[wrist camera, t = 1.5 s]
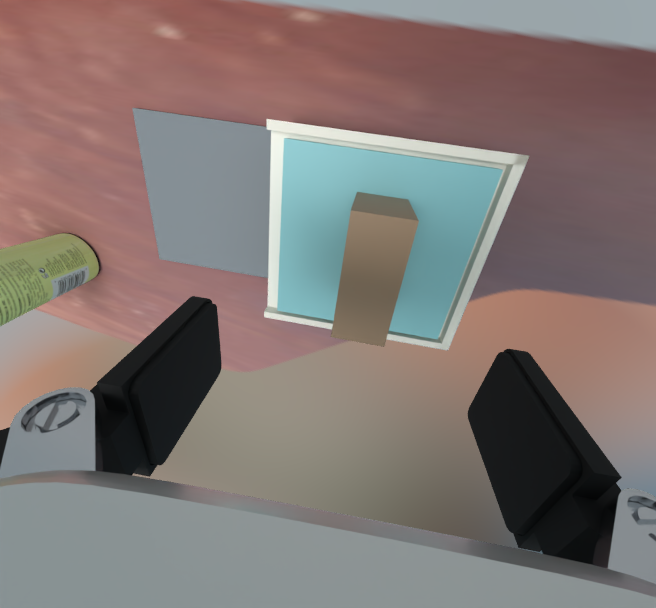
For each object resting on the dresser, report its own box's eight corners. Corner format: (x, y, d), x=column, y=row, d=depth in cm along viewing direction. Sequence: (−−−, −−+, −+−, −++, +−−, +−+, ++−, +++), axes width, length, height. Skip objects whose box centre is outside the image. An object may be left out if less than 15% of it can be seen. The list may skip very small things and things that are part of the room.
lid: (498, 168, 16) (550, 182, 11) (435, 333, 22) (452, 390, 17) (287, 138, 17) (251, 139, 12) (280, 305, 23) (253, 352, 18)
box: (491, 150, 20) (529, 155, 15) (434, 310, 27) (447, 350, 22) (292, 122, 21) (266, 119, 16) (284, 284, 28) (264, 317, 23)
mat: (278, 128, 21) (277, 128, 21) (273, 277, 28) (272, 278, 27) (135, 108, 22) (132, 107, 22) (161, 257, 28) (159, 259, 28)
